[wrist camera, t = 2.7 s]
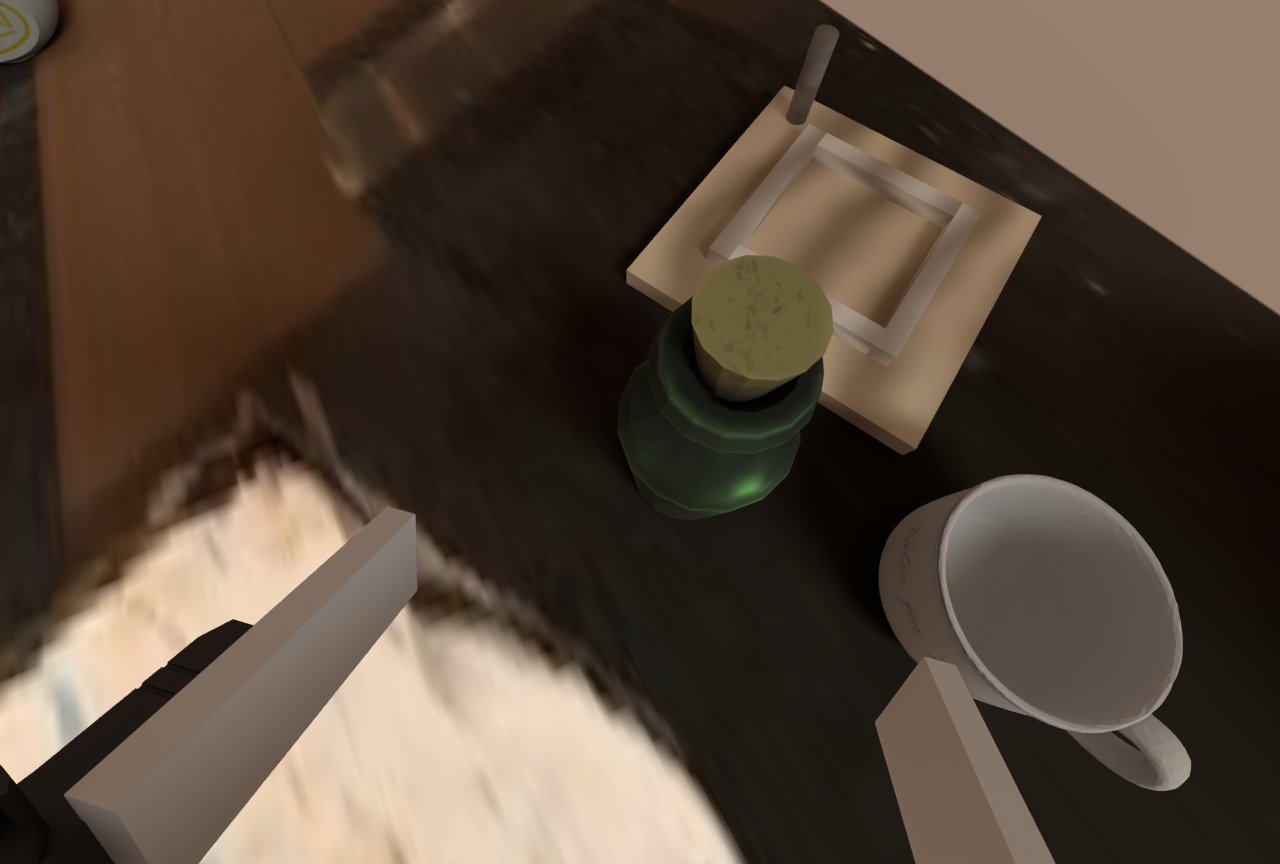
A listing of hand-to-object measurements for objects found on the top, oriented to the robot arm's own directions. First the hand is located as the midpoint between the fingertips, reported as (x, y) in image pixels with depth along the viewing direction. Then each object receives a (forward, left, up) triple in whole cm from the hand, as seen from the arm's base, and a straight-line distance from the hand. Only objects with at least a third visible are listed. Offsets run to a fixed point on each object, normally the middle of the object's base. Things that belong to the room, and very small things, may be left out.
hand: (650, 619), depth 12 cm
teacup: (-16, -10, -16) cm, 25 cm away
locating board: (+2, -28, -16) cm, 32 cm away
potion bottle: (+2, -8, -16) cm, 18 cm away
